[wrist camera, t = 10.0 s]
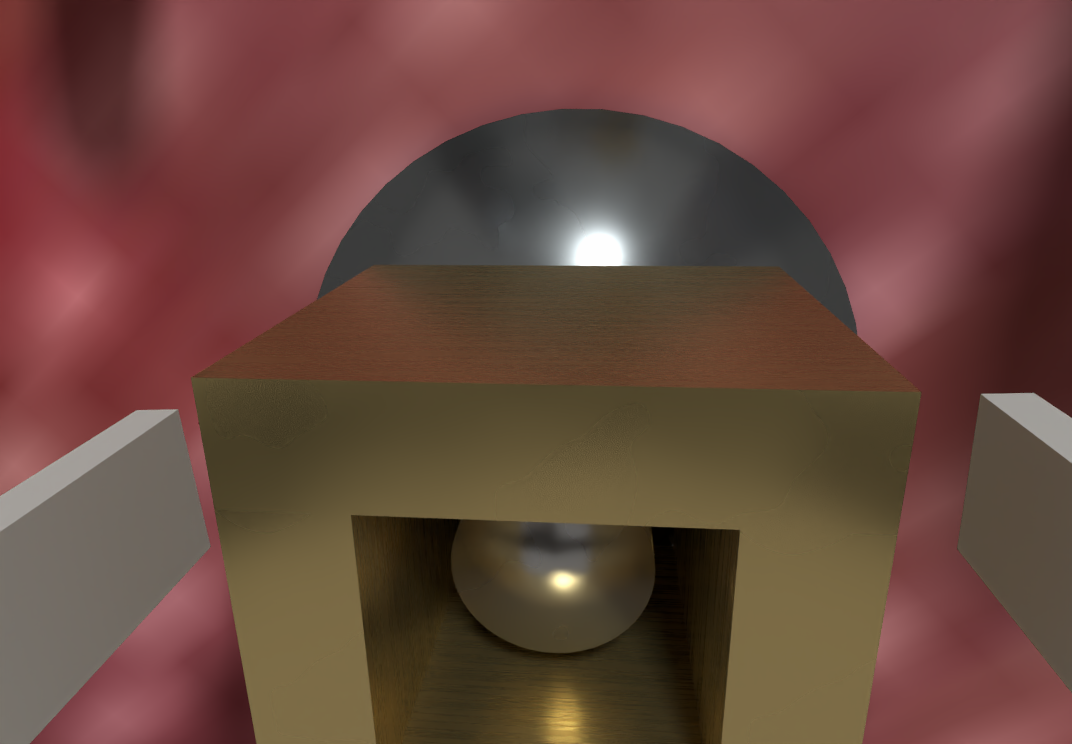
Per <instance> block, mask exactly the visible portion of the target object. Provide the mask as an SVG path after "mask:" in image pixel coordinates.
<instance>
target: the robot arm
mask: <svg viewBox="0 0 1072 744" xmlns="http://www.w3.org/2000/svg"><path fill="white" fill-rule="evenodd" d="M210 547H211V546H210V542H209V538H208V534H207V529H206V525H205V521H204V517H203V512H202V508H201V504H200V500H199V496H198V491H197V487H196V483H195V479H194V475H193V470H192V466H191V462H190V458H189V454H188V449H187V445H186V441H185V437H184V432H183V428H182V424H181V420H180V416H179V411H178V409H177V410H136V411H135V412H133V413H132V414H130V415H128V416H127V417H125V418H124V419H122V420H121V421H119V422H117V423H116V424H114V425H113V426H111V427H109V428H108V429H106V430H105V431H103V432H101V433H100V434H98V435H97V436H95V437H93V438H92V439H90V440H89V441H87V442H86V443H84V444H82V445H81V446H79V447H78V448H76V449H74V450H73V451H71V452H70V453H68V454H66V455H65V456H63V457H62V458H60V459H59V460H57V461H55V462H54V463H52V464H51V465H49V466H47V467H46V468H44V469H43V470H41V471H39V472H38V473H36V474H35V475H33V476H31V477H30V478H28V479H27V480H25V481H24V482H22V483H20V484H19V485H17V486H16V487H14V488H12V489H11V490H9V491H8V492H6V493H4V494H3V495H1V496H0V744H30V743H31V742H32V741H33V740H34V738H35V737H36V736H37V735H38V734H39V733H40V732H41V731H42V730H43V729H44V728H45V726H46V725H47V724H48V723H49V722H50V721H51V720H52V719H53V718H54V717H55V716H56V715H57V713H58V712H59V711H60V710H61V709H62V708H63V707H64V706H65V705H66V704H67V703H68V701H69V700H70V699H71V698H72V697H73V696H74V695H75V694H76V693H77V692H78V691H79V690H80V688H81V687H82V686H83V685H84V684H85V683H86V682H87V681H88V680H89V679H90V678H91V676H92V675H93V674H94V673H95V672H96V671H97V670H98V669H99V668H100V667H101V666H102V664H103V663H104V662H105V661H106V660H107V659H108V658H109V657H110V656H111V655H112V654H113V653H114V651H115V650H116V649H117V648H118V647H119V646H120V645H121V644H122V643H123V642H124V641H125V639H126V638H127V637H128V636H129V635H130V634H131V633H132V632H133V631H134V630H135V629H136V628H137V626H138V625H139V624H140V623H141V622H142V621H143V620H144V619H145V618H146V617H147V616H148V614H149V613H150V612H151V611H152V610H153V609H154V608H155V607H156V606H157V605H158V604H159V603H160V601H161V600H162V599H163V598H164V597H165V596H166V595H167V594H168V593H169V592H170V591H171V589H172V588H173V587H174V586H175V585H176V584H177V583H178V582H179V581H180V580H181V579H182V577H183V576H184V575H185V574H186V573H187V572H188V571H189V570H190V569H191V568H192V567H193V566H194V564H195V563H196V562H197V561H198V560H199V559H200V558H201V557H202V556H203V555H204V554H205V552H206V551H207V550H208V549H209V548H210ZM957 549H958V550H959V552H960V553H961V554H962V555H963V557H964V558H965V559H966V561H967V562H968V563H969V564H970V566H971V567H972V568H973V569H974V571H975V572H976V573H977V574H978V576H979V577H980V578H981V579H982V581H983V582H984V583H985V584H986V586H987V587H988V588H989V589H990V591H991V592H992V593H993V594H994V596H995V597H996V598H997V599H998V601H999V602H1000V603H1001V604H1002V606H1003V607H1004V608H1005V609H1006V611H1007V612H1008V613H1009V615H1010V616H1011V617H1012V618H1013V620H1014V621H1015V622H1016V623H1017V625H1018V626H1019V627H1020V628H1021V630H1022V631H1023V632H1024V633H1025V635H1026V636H1027V637H1028V638H1029V640H1030V641H1031V642H1032V643H1033V645H1034V646H1035V647H1036V648H1037V650H1038V651H1039V652H1040V653H1041V655H1042V656H1043V657H1044V658H1045V660H1046V661H1047V662H1048V663H1049V665H1050V666H1051V667H1052V669H1053V670H1054V671H1055V672H1056V674H1057V675H1058V676H1059V677H1060V679H1061V680H1062V681H1063V682H1064V684H1065V685H1066V686H1067V687H1068V689H1069V690H1070V691H1071V692H1072V418H1071V417H1069V416H1068V415H1066V414H1065V413H1063V412H1062V411H1060V410H1059V409H1057V408H1056V407H1054V406H1053V405H1051V404H1050V403H1048V402H1047V401H1045V400H1044V399H1042V398H1041V397H1039V396H1038V395H1036V394H1035V393H1005V394H981V395H980V401H979V408H978V414H977V421H976V428H975V434H974V441H973V447H972V454H971V461H970V467H969V474H968V480H967V487H966V493H965V500H964V507H963V513H962V520H961V526H960V533H959V540H958V546H957Z"/></svg>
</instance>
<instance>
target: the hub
mask: <svg viewBox="0 0 1072 744" xmlns="http://www.w3.org/2000/svg"><path fill="white" fill-rule="evenodd" d="M373 265H547V266H779V267H780V268H781V269H783V270H784V271H785V272H786V273H787V274H788V275H789V276H790V277H792V278H793V279H794V280H795V281H796V282H797V283H798V284H799V285H801V286H802V287H803V288H804V289H805V290H806V291H807V292H809V293H810V294H811V295H812V296H813V297H814V298H815V299H816V300H818V301H819V302H820V303H821V304H822V305H823V306H824V307H826V308H827V309H828V310H829V311H830V312H831V313H832V314H833V315H835V316H836V317H837V318H838V319H839V320H840V321H841V322H843V323H844V324H845V325H846V326H847V327H848V328H849V329H850V330H852V331H853V332H854V333H855V334H856V335H857V329H856V322H855V319H854V315H853V312H852V308H851V305H850V301H849V298H848V294H847V291H846V287H845V285H844V283H843V281H842V278H841V276H840V274H839V272H838V270H837V267H836V265H835V263H834V261H833V258H832V256H831V254H830V252H829V251H828V249H827V248H826V246H825V244H824V243H823V241H822V240H821V238H820V237H819V235H818V234H817V232H816V230H815V229H814V227H813V226H812V224H811V223H810V221H809V220H808V219H807V218H806V216H805V215H804V214H803V213H802V212H801V211H800V210H799V208H798V207H797V206H796V205H795V204H794V203H793V201H792V200H791V199H790V198H789V197H788V196H787V195H786V193H785V192H784V191H783V190H781V189H780V188H779V187H778V186H777V185H776V184H775V183H773V182H772V181H771V180H770V179H769V178H768V177H766V176H765V175H764V174H763V173H762V172H761V171H759V170H758V169H757V168H756V167H755V166H754V165H752V164H750V163H749V162H747V161H746V160H744V159H743V158H741V157H739V156H738V155H736V154H735V153H733V152H732V151H730V150H728V149H727V148H725V147H724V146H722V145H721V144H719V143H717V142H714V141H712V140H710V139H708V138H706V137H703V136H701V135H699V134H697V133H695V132H692V131H690V130H688V129H686V128H684V127H681V126H677V125H674V124H671V123H667V122H664V121H660V120H657V119H654V118H650V117H647V116H643V115H637V114H630V113H623V112H616V111H610V110H603V109H559V110H551V111H544V112H536V113H529V114H521V115H518V116H514V117H511V118H507V119H503V120H500V121H496V122H493V123H489V124H485V125H482V126H480V127H478V128H475V129H473V130H471V131H468V132H466V133H464V134H462V135H459V136H457V137H455V138H452V139H450V140H448V141H446V142H444V143H443V144H441V145H439V146H438V147H436V148H435V149H433V150H431V151H430V152H428V153H426V154H425V155H423V156H422V157H420V158H418V159H417V160H415V161H414V162H413V163H411V164H410V165H409V166H408V167H406V168H405V169H404V170H403V171H402V172H400V173H399V174H398V175H397V176H396V177H394V178H393V179H392V180H391V181H390V182H388V183H387V184H386V185H385V186H384V187H383V188H382V189H381V190H380V192H379V193H378V194H377V195H376V196H375V197H374V198H373V199H372V200H371V202H370V203H369V204H368V205H367V206H366V207H365V208H364V209H363V210H362V211H361V213H360V214H359V216H358V217H357V219H356V220H355V222H354V223H353V225H352V226H351V228H350V229H349V230H348V232H347V233H346V235H345V236H344V238H343V239H342V241H341V243H340V245H339V247H338V249H337V251H336V253H335V255H334V257H333V259H332V261H331V263H330V265H329V267H328V269H327V271H326V274H325V277H324V280H323V283H322V286H321V289H320V292H319V295H318V298H317V300H318V299H319V298H321V297H323V296H324V295H326V294H327V293H329V292H331V291H332V290H334V289H336V288H337V287H339V286H340V285H342V284H344V283H345V282H347V281H348V280H350V279H352V278H353V277H355V276H357V275H358V274H360V273H361V272H363V271H365V270H366V269H368V268H370V267H371V266H373ZM673 543H674V527H653V526H627V525H600V524H574V523H548V522H522V521H495V520H469V519H461V521H460V524H459V526H458V529H457V532H456V534H455V538H454V541H453V545H452V553H451V569H452V574H453V580H454V583H455V586H456V589H457V591H458V593H459V595H460V597H461V599H462V601H463V603H464V604H465V606H466V607H467V609H468V610H469V611H470V613H471V614H472V615H473V616H474V617H475V618H476V619H477V620H478V621H479V622H480V623H481V624H482V625H483V626H484V627H485V628H487V629H488V630H490V631H491V632H492V633H494V634H495V635H497V636H498V637H500V638H502V639H504V640H506V641H508V642H510V643H512V644H515V645H517V646H520V647H523V648H527V649H530V650H535V651H540V652H548V653H571V652H578V651H583V650H587V649H591V648H595V647H597V646H600V645H602V644H605V643H607V642H609V641H611V640H612V639H614V638H616V637H618V636H619V635H620V634H622V633H623V632H624V631H626V630H627V629H628V628H629V627H630V626H631V625H632V624H633V623H634V622H635V621H636V620H637V619H638V617H639V616H640V615H641V614H642V612H643V610H644V609H645V607H646V605H647V604H648V601H649V599H650V596H651V594H652V590H653V586H654V582H655V559H654V549H653V545H656V546H673Z"/></svg>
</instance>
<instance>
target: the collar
mask: <svg viewBox="0 0 1072 744" xmlns="http://www.w3.org/2000/svg"><path fill="white" fill-rule="evenodd" d="M191 381H192V386H193V392H194V397H195V403H196V409H197V414H198V420H199V425H200V431H201V436H202V442H203V448H204V453H205V459H206V464H207V470H208V475H209V481H210V487H211V492H212V498H213V503H214V509H215V515H216V520H217V526H218V531H219V537H220V542H221V548H222V554H223V559H224V565H225V570H226V576H227V582H228V587H229V593H230V598H231V604H232V609H233V615H234V621H235V626H236V632H237V637H238V643H239V648H240V654H241V660H242V665H243V671H244V676H245V682H246V688H247V693H248V699H249V704H250V710H251V715H252V721H253V727H254V732H255V738H256V743H257V744H862V741H863V735H864V729H865V723H866V717H867V711H868V705H869V700H870V694H871V688H872V682H873V676H874V670H875V664H876V658H877V652H878V646H879V640H880V634H881V628H882V623H883V617H884V611H885V605H886V599H887V593H888V587H889V581H890V575H891V569H892V563H893V557H894V552H895V546H896V540H897V534H898V528H899V522H900V516H901V510H902V504H903V498H904V492H905V486H906V480H907V474H908V469H909V463H910V457H911V451H912V445H913V439H914V433H915V427H916V421H917V415H918V409H919V403H920V398H921V391H920V390H918V389H917V388H916V387H915V386H914V385H913V384H912V383H910V382H909V381H908V380H907V379H906V378H905V377H904V376H903V375H901V374H900V373H899V372H898V371H897V370H896V369H895V368H894V367H892V366H891V365H890V364H889V363H888V362H887V361H886V360H884V359H883V358H882V357H881V356H880V355H879V354H878V353H877V352H875V351H874V350H873V349H872V348H871V347H870V346H869V345H867V344H866V343H865V342H864V341H863V340H862V339H861V338H860V337H858V336H857V335H856V334H855V333H854V332H853V331H852V330H850V329H849V328H848V327H847V326H846V325H845V324H844V323H843V322H841V321H840V320H839V319H838V318H837V317H836V316H835V315H833V314H832V313H831V312H830V311H829V310H828V309H827V308H826V307H824V306H823V305H822V304H821V303H820V302H819V301H818V300H816V299H815V298H814V297H813V296H812V295H811V294H810V293H809V292H807V291H806V290H805V289H804V288H803V287H802V286H801V285H799V284H798V283H797V282H796V281H795V280H794V279H793V278H792V277H790V276H789V275H788V274H787V273H786V272H785V271H784V270H783V269H781V268H780V267H779V266H547V265H373V266H371V267H370V268H368V269H366V270H365V271H363V272H361V273H360V274H358V275H357V276H355V277H353V278H352V279H350V280H348V281H347V282H345V283H344V284H342V285H340V286H339V287H337V288H336V289H334V290H332V291H331V292H329V293H327V294H326V295H324V296H323V297H321V298H319V299H318V300H316V301H314V302H313V303H311V304H310V305H308V306H306V307H305V308H303V309H301V310H300V311H298V312H297V313H295V314H293V315H292V316H290V317H288V318H287V319H285V320H284V321H282V322H280V323H279V324H277V325H276V326H274V327H272V328H271V329H269V330H267V331H266V332H264V333H263V334H261V335H259V336H258V337H256V338H254V339H253V340H251V341H250V342H248V343H246V344H245V345H243V346H241V347H240V348H238V349H237V350H235V351H233V352H232V353H230V354H228V355H227V356H225V357H224V358H222V359H220V360H219V361H217V362H215V363H214V364H212V365H211V366H209V367H207V368H206V369H204V370H203V371H201V372H199V373H198V374H196V375H194V376H193V377H191ZM461 519H469V520H495V521H522V522H548V523H574V524H600V525H627V526H653V527H674V543H673V546H656V545H653V549H654V559H655V582H654V586H653V590H652V594H651V596H650V599H649V601H648V604H647V605H646V607H645V609H644V610H643V612H642V614H641V615H640V616H639V617H638V619H637V620H636V621H635V622H634V623H633V624H632V625H631V626H630V627H629V628H628V629H627V630H626V631H624V632H623V633H622V634H620V635H619V636H618V637H616V638H614V639H612V640H611V641H609V642H607V643H605V644H602V645H600V646H597V647H595V648H591V649H587V650H583V651H578V652H571V653H548V652H540V651H535V650H530V649H527V648H523V647H520V646H517V645H515V644H512V643H510V642H508V641H506V640H504V639H502V638H500V637H498V636H497V635H495V634H494V633H492V632H491V631H490V630H488V629H487V628H485V627H484V626H483V625H482V624H481V623H480V622H479V621H478V620H477V619H476V618H475V617H474V616H473V615H472V614H471V613H470V611H469V610H468V609H467V607H466V606H465V604H464V603H463V601H462V599H461V597H460V595H459V593H458V591H457V589H456V586H455V583H454V580H453V574H452V569H451V553H452V545H453V541H454V538H455V534H456V532H457V529H458V526H459V524H460V521H461Z"/></svg>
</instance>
